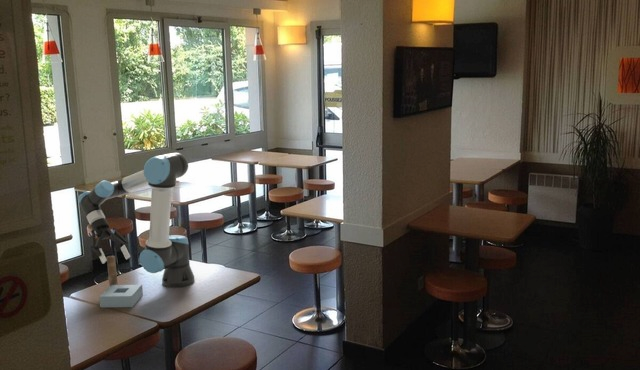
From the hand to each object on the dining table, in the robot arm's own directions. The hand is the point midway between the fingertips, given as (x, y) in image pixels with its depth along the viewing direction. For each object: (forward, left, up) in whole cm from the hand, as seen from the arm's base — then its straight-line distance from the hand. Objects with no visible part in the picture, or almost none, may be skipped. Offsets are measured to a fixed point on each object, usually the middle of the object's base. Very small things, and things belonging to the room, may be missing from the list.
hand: (116, 260), depth 265 cm
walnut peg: (+2, +1, -15) cm, 15 cm away
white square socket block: (-6, +12, -15) cm, 20 cm away
